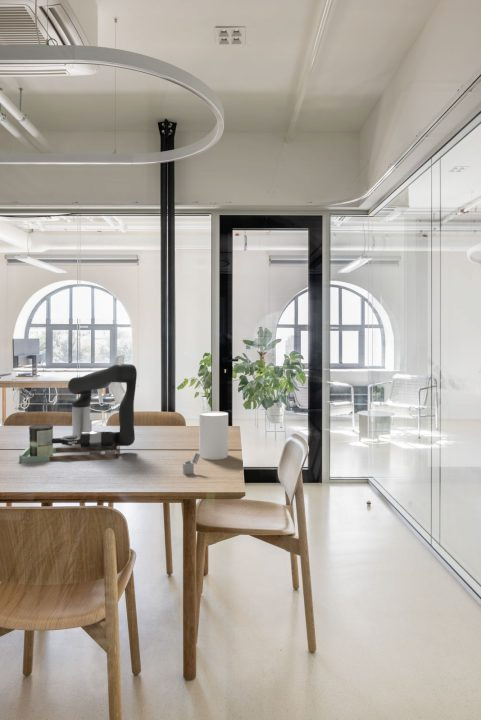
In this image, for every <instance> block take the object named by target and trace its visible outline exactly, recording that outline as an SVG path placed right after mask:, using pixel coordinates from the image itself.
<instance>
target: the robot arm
mask: <svg viewBox="0 0 481 720" xmlns="http://www.w3.org/2000/svg"><path fill="white" fill-rule="evenodd" d="M137 375H138V373H137V368H136V366H135V365H134V364H132V363H131V364H130V363H121V362H120V363H116V364H114V365H112V366H109V367H108V368H104V369H100V370H96V371H93V372H90V373H88V374H85V375H84V376H77V377H76V376H75V377H72V378H71V379H69V381H68V383H67V384H68V385H67V388H68V391H69V392H70V393H71V394H73V395H80V396H79V397H78V398H76V399H74V400H73V401H72V406H71V409H72V411H71V412H72V415H71V416H72V420H71V421H72V434H71V435H66V436H63V437H53V439H52V443H53V445H55V444H60V445H64V446H68V447H73V446H77V445H79V444H80V446H79V447H81V448H96V447H109V446H120V447H129V446H131V445H133V444H134V442H135V441H136V440H135V438H136V437H135V436H136V435H135V426H134V424H135V412H134V411H135V410H134V407H135V404H134V403H135V395H136V386H137V377H138V376H137ZM112 383H118V384H119V383H121V384H122V383H124V384H126V390H125V393H124V396H123V398H122V400H121V402H120V403H119V406H118V407H119V408H118V422H119V431H114V432H113V431H95V430H94V431H92V430H93V427H92V426H93V425H92V424H93V423H92V419H91V402H92V391H95V390H101V389H105V388H107V387H109V386H110V384H112Z"/></svg>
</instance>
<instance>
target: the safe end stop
mask: <svg viewBox="0 0 481 720" xmlns="http://www.w3.org/2000/svg"><path fill="white" fill-rule="evenodd" d="M56 447H57V446H56ZM56 447H55V446H53V453H57V452H56ZM18 458H21V460H20V459H19V461H18V462H19V463H33V462H34V463H36V462H38V463H39V462H51V461H50V456H30V445H29V446H27V447H26V448H25V449H24V450H23V451H22V452H21V453H20V454H19V456H18ZM20 461H21V462H20Z"/></svg>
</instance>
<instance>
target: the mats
mask: <svg viewBox="0 0 481 720" xmlns="http://www.w3.org/2000/svg"><path fill="white" fill-rule="evenodd" d="M101 452H102V450H99V451H89V453H88V454H102V453H101ZM113 453H116V450H104V454H113Z"/></svg>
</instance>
